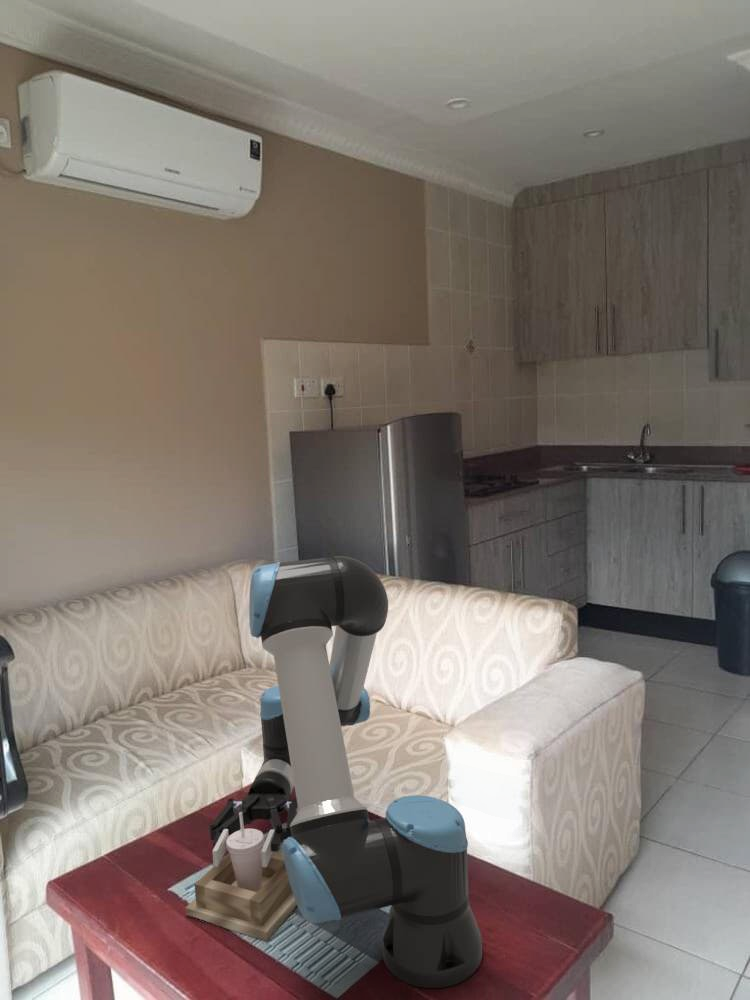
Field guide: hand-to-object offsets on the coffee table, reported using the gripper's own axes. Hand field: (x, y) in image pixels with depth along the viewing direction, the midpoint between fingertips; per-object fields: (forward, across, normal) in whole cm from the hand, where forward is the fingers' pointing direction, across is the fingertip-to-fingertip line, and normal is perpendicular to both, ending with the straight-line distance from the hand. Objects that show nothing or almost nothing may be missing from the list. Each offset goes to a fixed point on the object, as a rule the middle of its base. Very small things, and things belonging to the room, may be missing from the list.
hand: (239, 859), depth 126 cm
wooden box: (-5, 0, -11) cm, 12 cm away
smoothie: (-5, 0, -9) cm, 11 cm away
